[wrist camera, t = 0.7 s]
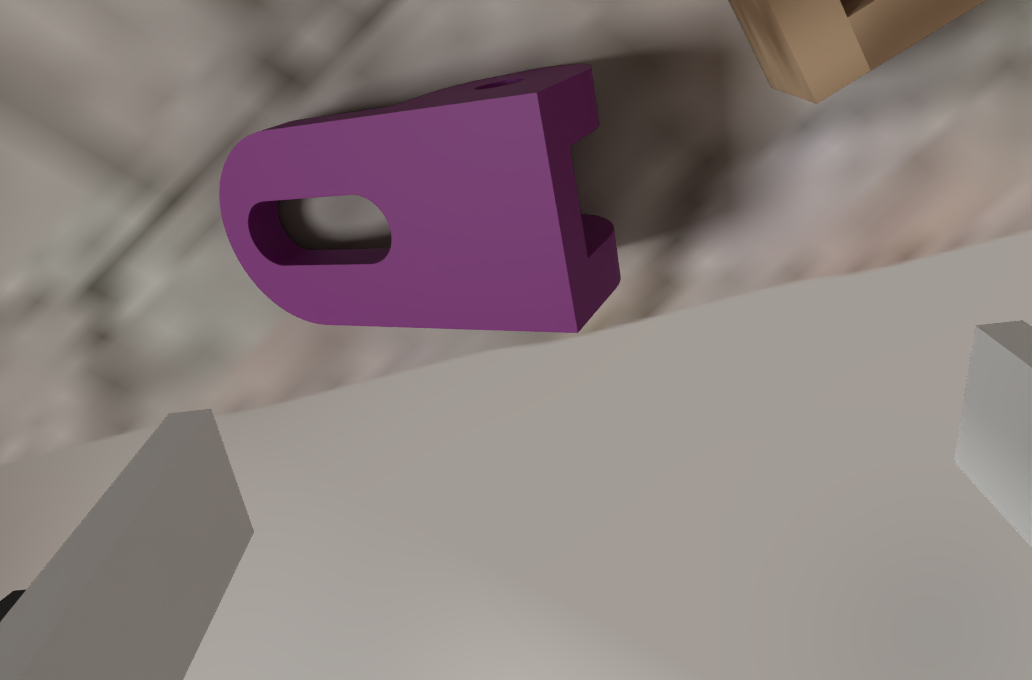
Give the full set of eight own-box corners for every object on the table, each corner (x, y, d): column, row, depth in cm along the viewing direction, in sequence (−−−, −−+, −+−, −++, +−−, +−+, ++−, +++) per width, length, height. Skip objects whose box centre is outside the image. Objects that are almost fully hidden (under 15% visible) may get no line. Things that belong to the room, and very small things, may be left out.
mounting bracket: (357, 262, 45) (642, 258, 37) (258, 322, 39) (578, 334, 30) (310, 102, 41) (618, 55, 33) (192, 138, 35) (537, 92, 26)
